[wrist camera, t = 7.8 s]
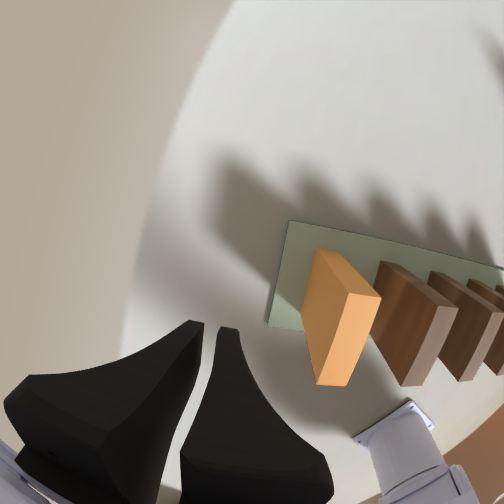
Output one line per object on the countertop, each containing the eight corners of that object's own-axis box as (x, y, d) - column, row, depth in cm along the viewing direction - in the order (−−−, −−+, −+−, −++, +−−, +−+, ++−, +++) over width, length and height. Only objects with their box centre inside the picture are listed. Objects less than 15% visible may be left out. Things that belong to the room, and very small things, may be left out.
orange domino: (338, 251, 18) (381, 297, 11) (320, 315, 20) (345, 386, 12) (316, 247, 18) (348, 292, 11) (300, 312, 20) (316, 384, 12)
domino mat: (540, 281, 18) (542, 282, 18) (518, 339, 20) (520, 340, 20) (289, 220, 18) (289, 221, 18) (267, 323, 21) (267, 326, 20)
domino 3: (478, 280, 18) (534, 315, 11) (460, 329, 20) (506, 373, 12) (468, 278, 18) (526, 314, 11) (449, 328, 20) (496, 375, 12)
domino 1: (398, 263, 18) (458, 308, 11) (378, 323, 20) (421, 385, 12) (380, 260, 18) (438, 305, 11) (361, 321, 20) (400, 386, 12)
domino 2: (444, 273, 18) (505, 313, 11) (424, 327, 20) (472, 380, 12) (430, 270, 18) (492, 311, 11) (411, 326, 20) (458, 382, 12)
